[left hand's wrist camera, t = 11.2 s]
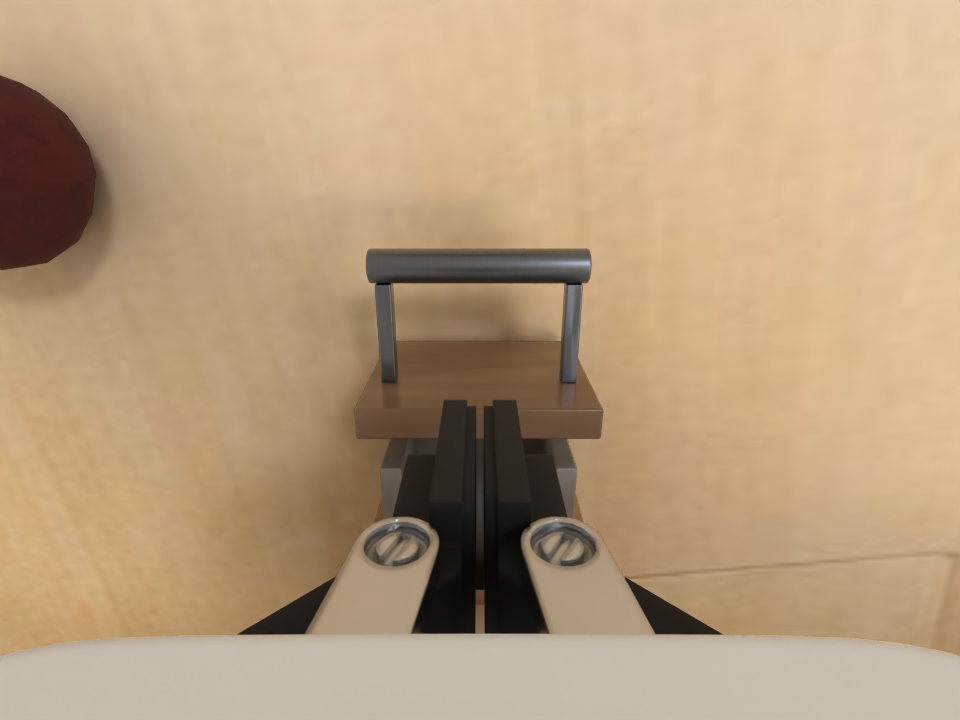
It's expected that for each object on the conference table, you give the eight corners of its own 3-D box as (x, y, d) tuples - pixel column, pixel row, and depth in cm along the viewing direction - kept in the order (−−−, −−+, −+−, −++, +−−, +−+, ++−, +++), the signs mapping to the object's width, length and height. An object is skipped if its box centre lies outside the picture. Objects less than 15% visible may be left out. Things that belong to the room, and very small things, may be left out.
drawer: (381, 231, 24) (339, 262, 17) (577, 231, 24) (617, 262, 17) (407, 653, 33) (388, 788, 26) (550, 652, 33) (569, 788, 26)
